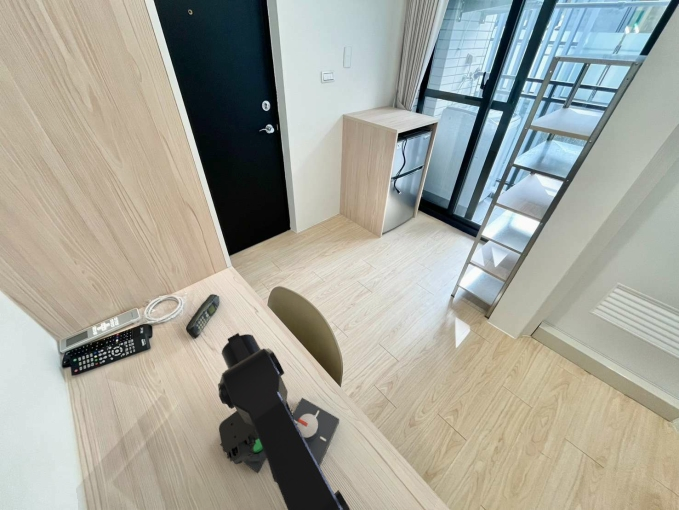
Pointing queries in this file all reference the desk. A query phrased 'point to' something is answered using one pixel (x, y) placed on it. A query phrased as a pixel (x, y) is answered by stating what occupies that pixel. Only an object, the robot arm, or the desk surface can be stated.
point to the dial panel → (325, 424)
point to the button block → (255, 460)
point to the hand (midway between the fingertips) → (281, 427)
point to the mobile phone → (202, 316)
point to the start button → (257, 446)
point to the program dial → (308, 427)
